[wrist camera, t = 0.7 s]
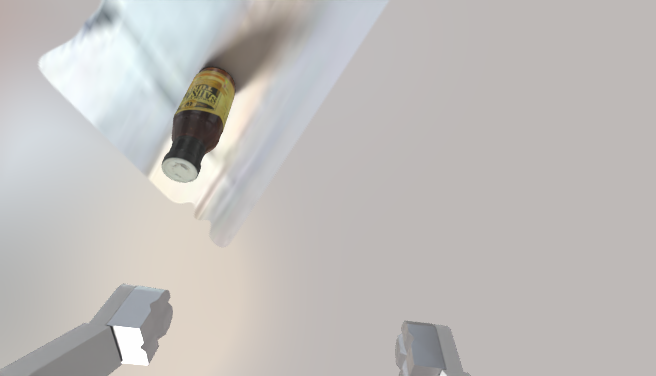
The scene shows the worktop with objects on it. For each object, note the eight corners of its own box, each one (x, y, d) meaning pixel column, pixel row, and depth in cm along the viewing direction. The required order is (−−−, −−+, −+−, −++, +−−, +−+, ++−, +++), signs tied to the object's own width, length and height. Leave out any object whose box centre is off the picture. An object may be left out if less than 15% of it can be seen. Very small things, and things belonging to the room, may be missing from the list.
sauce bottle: (228, 61, 50) (199, 144, 36) (241, 98, 54) (221, 185, 40) (185, 68, 50) (141, 153, 36) (202, 104, 55) (169, 192, 41)
